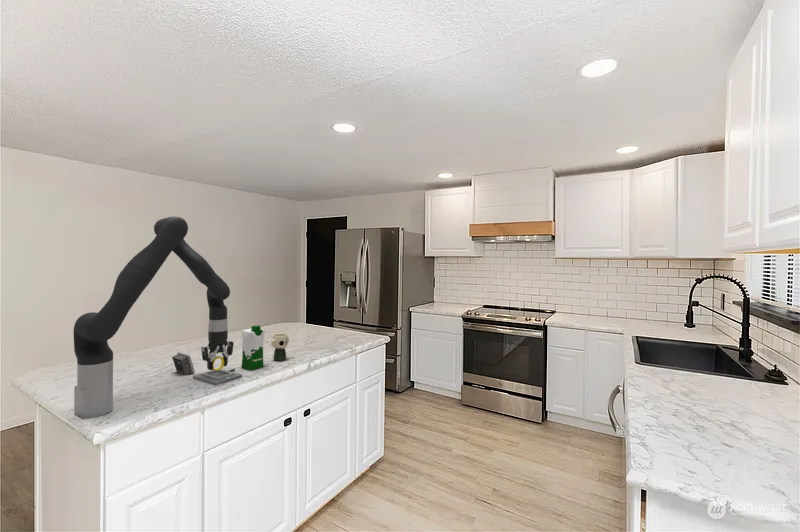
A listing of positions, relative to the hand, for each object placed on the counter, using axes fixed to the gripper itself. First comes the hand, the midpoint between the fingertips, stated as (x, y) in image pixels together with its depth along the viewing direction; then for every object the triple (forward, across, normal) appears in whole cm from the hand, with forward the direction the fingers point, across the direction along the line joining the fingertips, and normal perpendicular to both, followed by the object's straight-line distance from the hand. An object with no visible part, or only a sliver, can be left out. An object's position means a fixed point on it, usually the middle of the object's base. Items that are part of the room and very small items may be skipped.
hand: (217, 367), depth 159 cm
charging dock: (+4, +2, 0) cm, 5 cm away
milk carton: (+5, +18, 0) cm, 19 cm away
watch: (+1, 0, 0) cm, 1 cm away
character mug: (+5, +34, -1) cm, 34 cm away
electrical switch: (+5, -4, +18) cm, 19 cm away
